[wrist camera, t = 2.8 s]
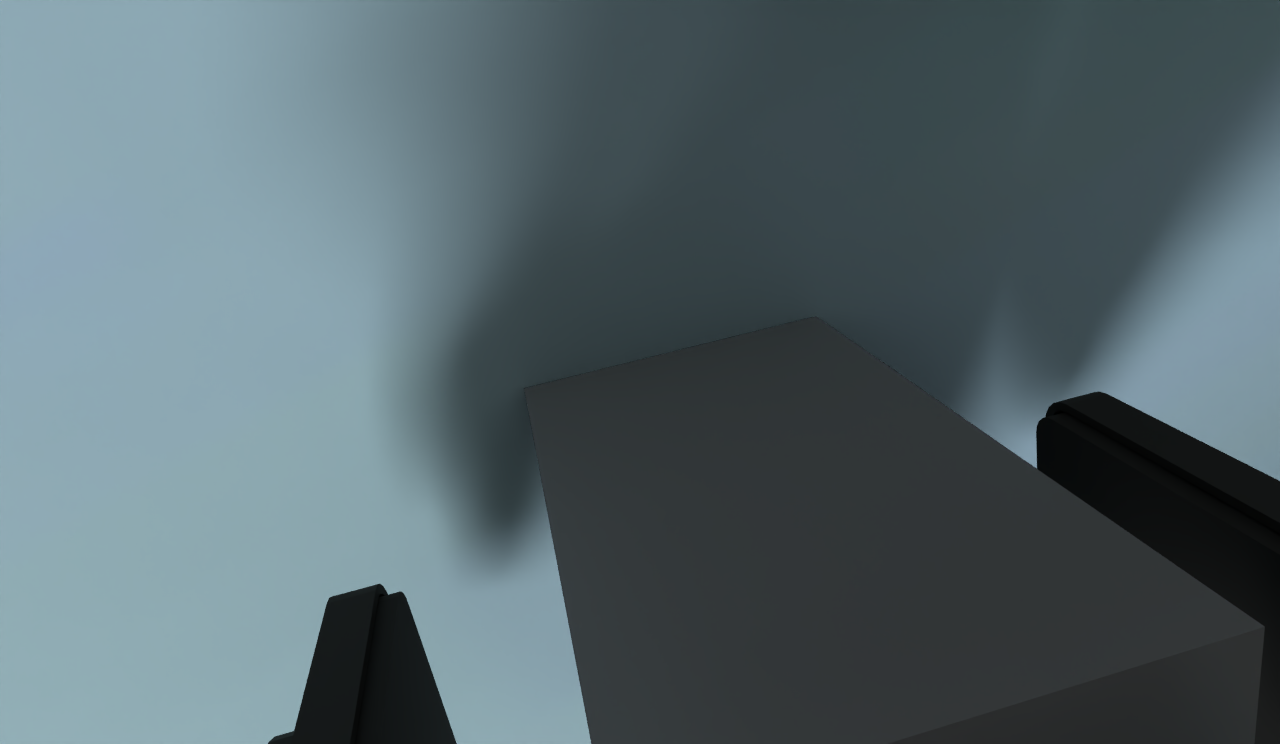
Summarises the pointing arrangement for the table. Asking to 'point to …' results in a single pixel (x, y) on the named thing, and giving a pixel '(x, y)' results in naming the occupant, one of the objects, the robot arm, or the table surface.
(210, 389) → the table surface
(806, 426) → the plug
